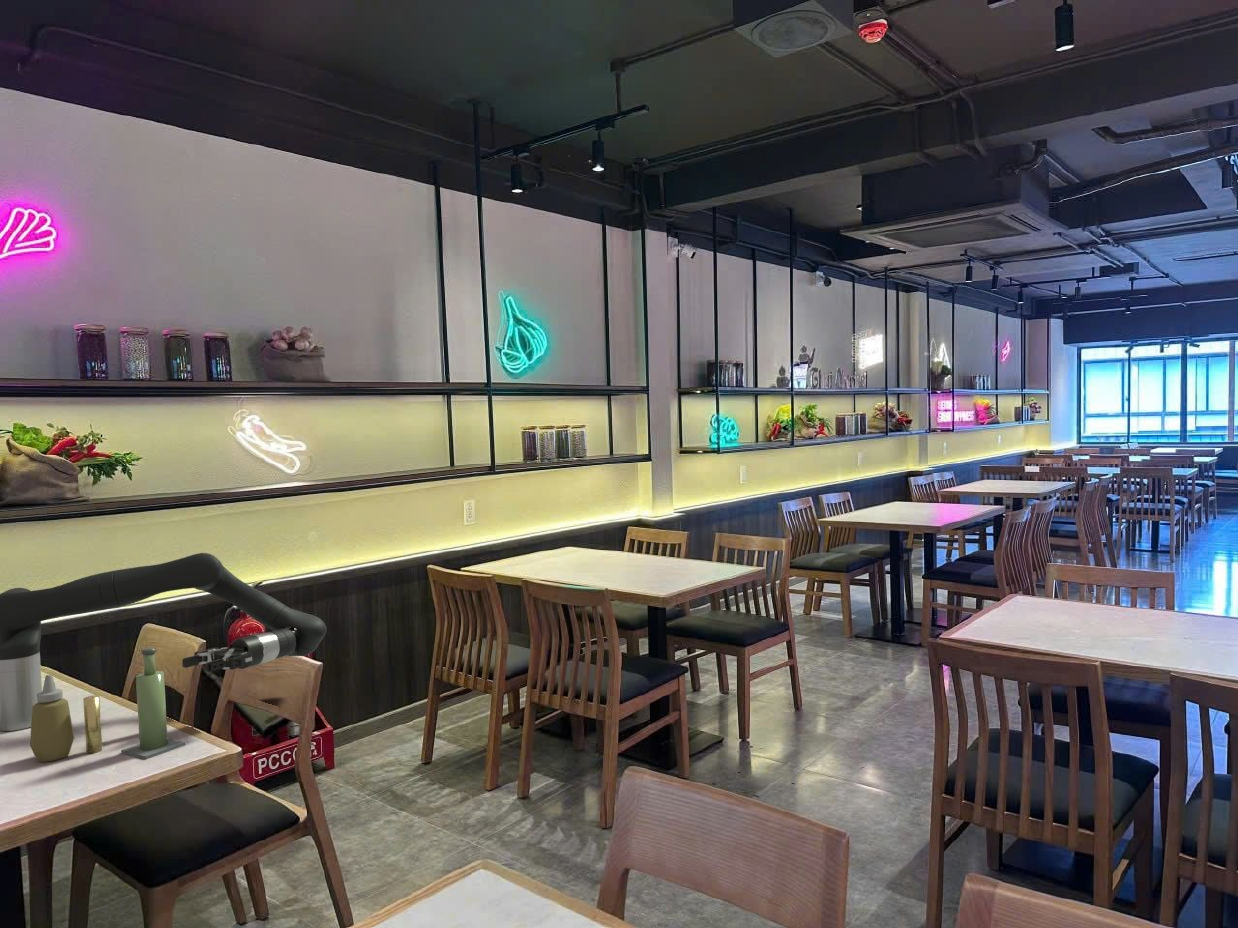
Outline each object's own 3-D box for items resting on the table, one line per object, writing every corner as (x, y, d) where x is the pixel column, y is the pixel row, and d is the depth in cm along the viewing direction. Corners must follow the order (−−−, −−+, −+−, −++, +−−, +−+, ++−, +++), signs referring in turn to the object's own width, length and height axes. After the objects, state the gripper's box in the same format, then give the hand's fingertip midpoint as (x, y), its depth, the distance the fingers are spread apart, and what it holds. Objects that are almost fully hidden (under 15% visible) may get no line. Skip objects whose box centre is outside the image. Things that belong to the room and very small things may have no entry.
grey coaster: (121, 752, 183) (121, 749, 183) (160, 738, 191) (160, 736, 191) (146, 759, 179) (145, 756, 179) (185, 744, 187) (185, 742, 187)
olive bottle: (134, 747, 184) (129, 650, 184) (158, 739, 189) (152, 645, 188) (149, 751, 182) (144, 653, 181) (172, 743, 186) (167, 647, 186)
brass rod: (83, 752, 184) (80, 698, 184) (97, 747, 187) (94, 694, 187) (91, 754, 183) (88, 700, 182) (105, 749, 186) (102, 696, 185)
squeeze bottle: (47, 766, 177) (43, 682, 176) (21, 762, 180) (16, 679, 179) (84, 752, 184) (79, 671, 184) (58, 748, 187) (53, 669, 187)
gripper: (236, 631, 212) (175, 646, 197) (274, 637, 205) (213, 652, 191) (236, 661, 212) (176, 677, 198) (274, 668, 205) (214, 685, 191)
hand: (194, 665), depth 194 cm, fingers open, 8 cm apart
